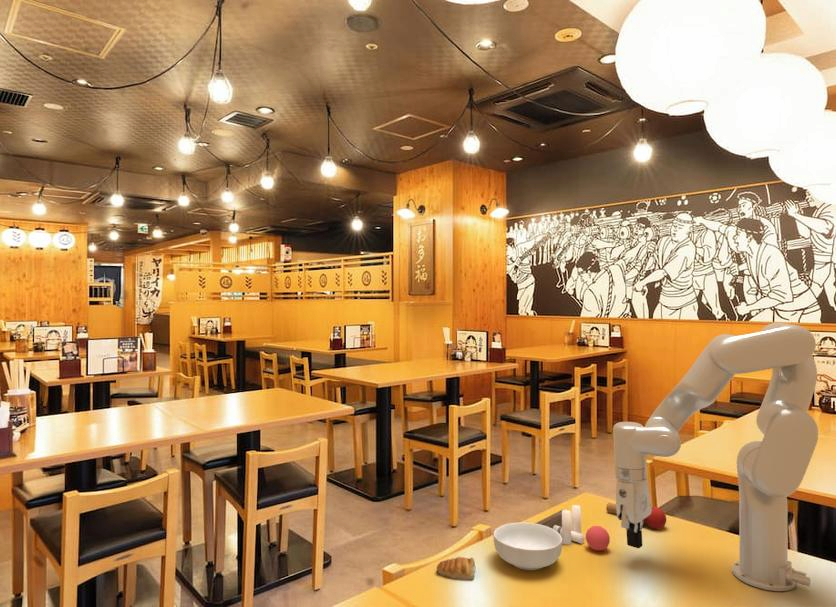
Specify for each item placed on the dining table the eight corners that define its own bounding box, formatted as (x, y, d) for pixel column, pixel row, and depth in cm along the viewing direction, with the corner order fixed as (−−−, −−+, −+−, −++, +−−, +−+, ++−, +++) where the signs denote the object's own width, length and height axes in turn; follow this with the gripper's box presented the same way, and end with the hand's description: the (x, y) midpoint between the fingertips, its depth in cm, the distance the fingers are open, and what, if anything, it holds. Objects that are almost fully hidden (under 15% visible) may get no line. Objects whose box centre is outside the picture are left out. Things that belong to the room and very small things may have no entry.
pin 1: (573, 542, 146) (572, 511, 146) (568, 545, 145) (568, 514, 145) (565, 540, 148) (564, 509, 148) (560, 542, 147) (560, 511, 147)
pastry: (435, 580, 128) (435, 563, 128) (437, 566, 135) (437, 551, 135) (475, 582, 127) (475, 565, 127) (475, 568, 134) (475, 552, 134)
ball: (589, 525, 148) (599, 548, 145) (577, 532, 143) (588, 556, 141) (606, 520, 144) (618, 543, 142) (595, 527, 140) (606, 551, 138)
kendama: (601, 520, 165) (657, 531, 150) (600, 498, 166) (656, 507, 152) (616, 519, 169) (672, 529, 155) (615, 497, 170) (671, 506, 156)
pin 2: (582, 537, 150) (582, 506, 150) (578, 539, 148) (577, 508, 148) (574, 534, 152) (574, 504, 152) (570, 537, 150) (570, 506, 150)
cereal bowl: (574, 561, 136) (574, 533, 136) (540, 587, 124) (540, 557, 124) (516, 541, 148) (516, 515, 148) (480, 563, 136) (480, 535, 136)
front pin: (584, 533, 147) (557, 524, 153) (580, 535, 145) (552, 525, 151) (584, 542, 147) (556, 533, 153) (579, 544, 145) (552, 534, 151)
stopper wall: (567, 524, 158) (567, 511, 158) (535, 541, 147) (535, 527, 147) (562, 523, 159) (562, 509, 159) (530, 540, 148) (530, 525, 148)
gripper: (631, 483, 128) (636, 561, 128) (658, 468, 138) (662, 540, 138) (602, 477, 134) (606, 551, 133) (630, 463, 144) (633, 532, 144)
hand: (634, 545), depth 136 cm, fingers closed
